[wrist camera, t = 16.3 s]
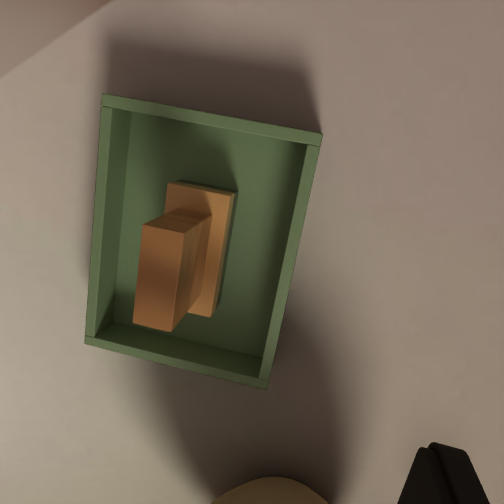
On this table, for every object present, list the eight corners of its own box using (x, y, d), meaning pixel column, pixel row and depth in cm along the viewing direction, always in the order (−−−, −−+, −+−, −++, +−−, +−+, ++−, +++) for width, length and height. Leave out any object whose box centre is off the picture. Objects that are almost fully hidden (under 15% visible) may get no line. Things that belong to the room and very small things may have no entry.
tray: (127, 98, 30) (101, 92, 27) (322, 134, 29) (323, 133, 25) (108, 323, 36) (83, 344, 32) (272, 364, 34) (266, 390, 30)
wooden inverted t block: (181, 179, 31) (127, 192, 22) (239, 190, 30) (206, 209, 21) (167, 290, 33) (113, 342, 24) (220, 302, 33) (184, 359, 24)
